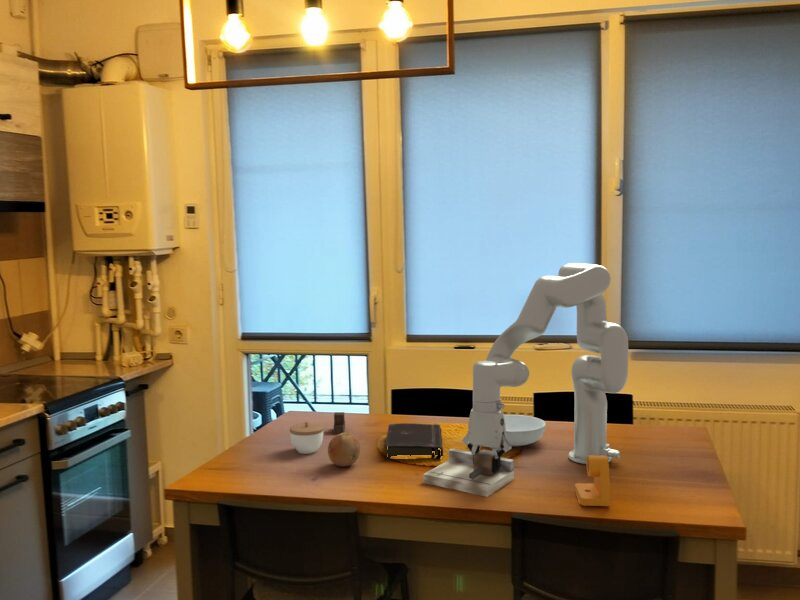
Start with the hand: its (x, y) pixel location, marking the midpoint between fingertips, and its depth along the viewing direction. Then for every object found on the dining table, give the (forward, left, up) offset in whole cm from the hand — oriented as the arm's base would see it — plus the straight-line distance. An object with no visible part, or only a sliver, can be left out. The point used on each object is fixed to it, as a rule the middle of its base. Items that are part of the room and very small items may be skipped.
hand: (486, 468), depth 207 cm
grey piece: (+4, +3, -3) cm, 6 cm away
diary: (+34, -15, -4) cm, 38 cm away
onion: (+42, +11, -4) cm, 44 cm away
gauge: (0, +3, -1) cm, 3 cm away
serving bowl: (+9, -36, -4) cm, 38 cm away
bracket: (-30, -1, -4) cm, 30 cm away
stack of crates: (+65, -18, -4) cm, 68 cm away
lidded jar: (+61, +6, -4) cm, 62 cm away
